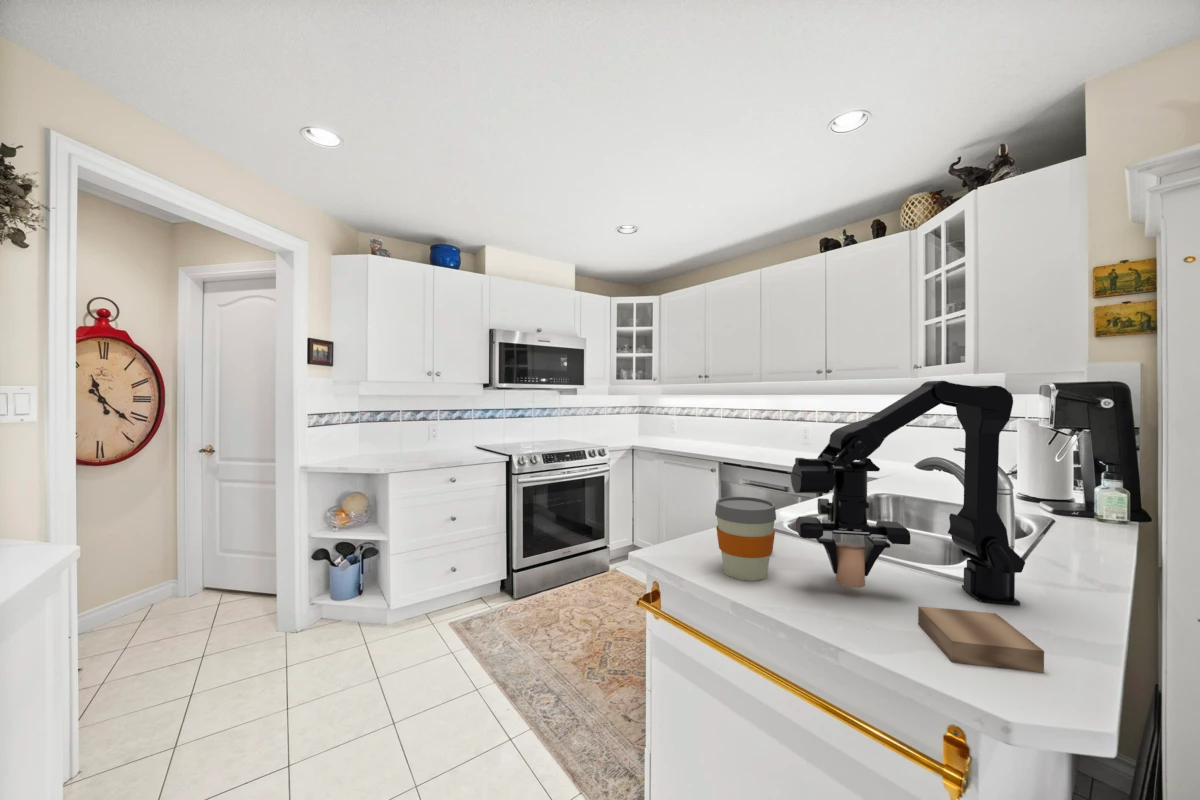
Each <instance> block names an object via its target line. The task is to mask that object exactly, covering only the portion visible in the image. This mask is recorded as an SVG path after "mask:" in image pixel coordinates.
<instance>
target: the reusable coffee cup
mask: <svg viewBox="0 0 1200 800" xmlns="http://www.w3.org/2000/svg"><path fill="white" fill-rule="evenodd" d="M775 505H776V503H774V502H772V501H770V500H767V499H762V498H757V497H750V496H727V497H721V498H718V499H717V500H716V502H715V512H714V513H715V514H714V515H715V517H716V520H717V525H716V527H715V528H716V534H717V535H716V536H717V543H718V548H719V550H720V552H721V559H722V567H723V568H722V569H723V571H724V573H725V575H727V574H728V575H729V577H730V576H731V578H734V579H736V580H741V581H749V582H750V581H752V582H754V581H762V580H764V579H766V578H767V577H768V570H769V565H770V556H771V555H772V554H773V550H774V543H775V535H776V532H775V531H776V530H774V527H775V522H776V520H777V512H776V506H775ZM728 575H727V576H728ZM761 579H762V580H761Z"/></svg>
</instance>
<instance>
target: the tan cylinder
mask: <svg viewBox="0 0 1200 800" xmlns="http://www.w3.org/2000/svg"><path fill="white" fill-rule="evenodd" d="M836 553H837V574H834V575H835V582H836V584H837V583H838V584H839V585H841V586H844V587H848V588H853V589H855V588H857V589H858V588H859V589H860V588H864V587H865V586H866V576H865V545H864V546H863V545H861V544H859V543H855V542H850V541H838V542H836Z"/></svg>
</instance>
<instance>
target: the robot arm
mask: <svg viewBox="0 0 1200 800" xmlns="http://www.w3.org/2000/svg"><path fill="white" fill-rule="evenodd" d="M939 405H943V406H946V407H947V406H948V407H953V408H955V411H956V417H957V419H958V421H959V423H960V425H961V426H962V428H963V430H964V432H965V434H964V437H965V438H964V440H965V441H964V473H963V474H964V478H963V505H962V508H961V509H960V510H959V512H958V513H957V514H956V513H950V514H949V516H948V518H949V520H948V521H949V529H948V531H947V534H948V535H951V536H950V537H951V541H952V543H954V545H955V546H957V548H958V550H959V552H960V554H961V556H963V557H966V558H967V559H966V566H965V567H964V568H963V584H962V585H961V588H962V589H963V590H964V591H965V592H967V593H968V594H969V595H971V596H972V597H973V598H975V599H976V600H977V601H979V602H983V603H992V604H993V603H994V604H995V603H996V604H1005V605H1006V604H1007V605H1019V606H1020V605H1021V601H1020V600H1018V599H1017V598H1015V593H1016V592H1015V590H1016V588H1015V586H1016V585H1015V582H1016V580H1015V579H1016V578H1015V577H1016V575H1015V574H1017V573H1023V570H1024V567H1025V565H1026V561H1025V560H1024V559H1023V558H1022V557H1021V556H1020V555H1019V554H1018V553H1017V552H1015V550H1013V548H1011V547H1010V544H1009V543H1010V542H1009V537H1008V530H1007V528H1006V526H1005V524H1004V522H1003V520H1002V518H1001V516H1000V514H999V512H998V489H999V488H998V487H999V459H1000V458H999V456H1000V455H999V454H1000V452H999V451H1000V434H1001V432H1002V431H1003V429H1004V428H1005V427H1006V425H1007V424H1008V422H1010V420H1011V419H1010V418H1011V415H1012V410H1013V407H1014V406H1013V405H1014V397H1013V395H1012V393H1011V392H1010V391H1009V390H1007V389H1006V388H1005V387H1004V386H1001V385H967V384H966V385H965V384H959V383H954V382H950V381H946V380H931V381H930V380H929V381H928V380H927V381H925V382H923V383H922V384H921V385H920V386H919V387H918V388H916V389H914V390H913V391H911V392H909V393H908V394H906V395H904V396H903V397H901V398H899V399H897V400H896V401H895V402H893V403H892V404H890V405H888V406H886V407H885V408H883V409H881V410H880V411H878V412H877V413H875V414H874V415H872V416H870V417H867V418H864V419H861V420H859V421H855V422H851V423H848V424H846V425H844V426H841V427H838V428H837V429H835V430H833V431H832V432H831V434H830V435H829V441H828V443H827V445H826V446H825V447H824V449H823V450H822V451H821V452H820V453H819V455H818V457H817V458H805V457H795V458H794V464H793V466H792V470H791V472H790V482H791V487H792V490H793V491H794V493H795V494H828V493H830V491H833V494H832V498H831V502H830V499H829V498H817V514H818V515H821V516H822V515H823V516H825V515H826V516H827V521H830V522H829V523H828V522H822V521H820V519H819V518H818V517H813V516H811V517H810V516H798V517H797V518H796V520H795V531H796V532H797V534H798V535H799V537H800V538H801V539H802V538H803V539H809V540H810V539H813V540H816V541H817V542H818V543H819V544H821V545H823V547H824V550H825V552H826V554H827V557H828V561H829V564H830V567H831V570H832V572H833V574H834V575H835V574H837V553H836V543H837V542H836V540H834V538H833V534H835V535H836V534H837V535H848V536H849V535H850V536H851V535H853V536H863V541H864V542H863V543H864V547H865V577H867V576H868V575H869V574H870V572H871V570H872V569H873V566H874V564H875V563H876V562H877V559H878V558H879V557H880V555H881V554H882V553H883V551H884V550H885V549H890V548H891V544H892V545H908V546H909V545H910V544H911V532H910V531H909V530H908V529H907V528H906V527H905V526H903V525H902V524H901V523H899V522H898V521H890V520H889V521H888V520H887V521H886V520H877V521H876V523H875V525H870V524H869V523H868V509H869V508H870V503H869V502H868V472H879V471H880V470H881V468H880V467H878V466H877V465H876V464H875V463H874V462H873V461H872V459H871V458H870V457H869V456H871V455H872V454H873V453H874V452H875V451H876V450H877V449H879V448H880V447H881V446H882V444H883V442H884V441H885V440H886V438H887V437H888V436H890V435H891V434H892V433H894V432H896V431H898V430H899V429H901V428H902V427H904V426H906V425H908V424H909V423H911V422H913V421H914V420H916V419H917V418H919V417H921V416H922V415H924V414H926V413H927V412H929V411H930V410H932V409H934V408H936V407H938V406H939ZM868 457H869V458H868ZM831 522H832V523H831ZM889 542H890V543H891V544H890V543H889Z"/></svg>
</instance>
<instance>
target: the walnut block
mask: <svg viewBox="0 0 1200 800" xmlns="http://www.w3.org/2000/svg"><path fill="white" fill-rule="evenodd" d="M917 608H918V609H917V610H918V612H917V613H918V614H917V615H918V616H917V618H918V619H917V621H918V624H917V625H919V627H920V628H921V629H922V630H923V631H924V632H925V633H926V634H927V636H928V637H929V638H930V639H931V641H933V642H934V644H935V645H936V646H937V647H938V648H939V649H940V650H941V652H942V653H943V654H944V655H945V656H946V657H947V658H948V659H949V661H951V663H958V664H959V663H960V664H967V665H975V666H984V667H992V668H994V667H995V668H1002V669H1011V670H1019V671H1020V670H1021V671H1028V672H1029V671H1030V672H1037V673H1045V650H1044V649H1042V648H1041V647H1040V646H1038V645H1037V644H1035V643H1034V641H1032V640H1031V639H1029V638H1028V637H1027V636H1026V635H1024V634H1023V633H1022V632H1021V631H1019V630H1018V629H1017V628H1015V626H1013V625H1011V624H1010V623H1009V622H1008V621H1007V620H1005V619H1004V618H1002V617H1001V616H1000V615H999V614H997V613H996V612H987V611H986V612H984V611H975V610H974V611H973V610H965V609H953V608H942V607H941V608H940V607H933V606H932V607H931V606H923V605H920V606H918V607H917Z"/></svg>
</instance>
